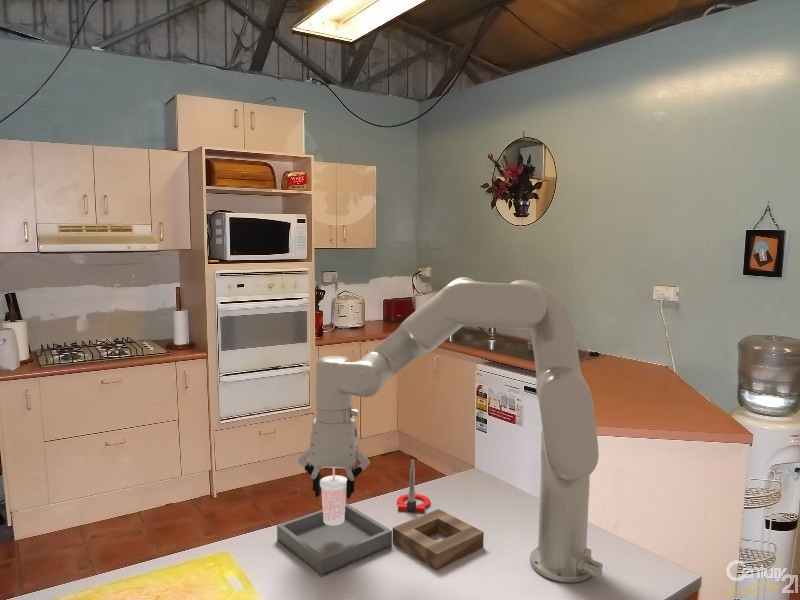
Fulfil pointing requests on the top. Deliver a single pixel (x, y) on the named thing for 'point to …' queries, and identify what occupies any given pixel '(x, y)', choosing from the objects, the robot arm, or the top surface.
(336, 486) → the beverage cup
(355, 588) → the top surface
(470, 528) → the square wooden frame block
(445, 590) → the top surface
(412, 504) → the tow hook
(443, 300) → the robot arm
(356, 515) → the tray
